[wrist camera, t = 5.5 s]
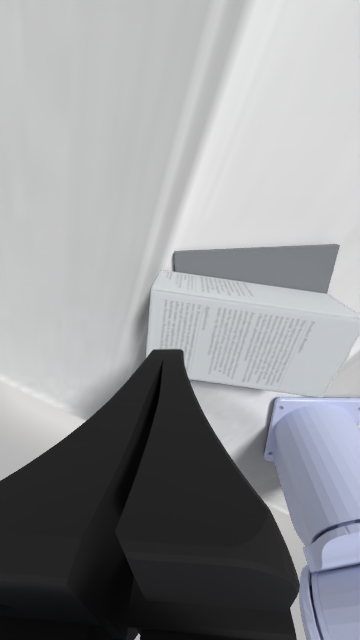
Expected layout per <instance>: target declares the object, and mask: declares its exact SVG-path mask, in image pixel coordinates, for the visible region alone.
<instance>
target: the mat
mask: <svg viewBox="0 0 360 640" xmlns="http://www.w3.org/2000/svg"><path fill="white" fill-rule="evenodd" d="M339 246H340V245H337V244H329V245H306V246H283V247H260V248H237V249H214V250H190V251H174V259H175V272H180V273H187V274H194V275H200V276H207V277H214V278H221V279H228V280H235V281H242V282H249V283H255V284H262V285H269V286H276V287H283V288H290V289H297V290H304V291H311V292H318V293H325V294H327V291H328V287H329V283H330V280H331V276H332V272H333V269H334V265H335V261H336V257H337V254H338V250H339Z"/></svg>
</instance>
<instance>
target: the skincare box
mask: <svg viewBox="0 0 360 640" xmlns="http://www.w3.org/2000/svg"><path fill="white" fill-rule="evenodd" d="M359 334H360V314H359V313H358V312H356V311H355V310H353V309H351V308H350V307H348V306H347V305H345V304H343V303H342V302H340V301H339V300H337V299H335V298H334V297H332V296H331V295H329V294H325V293H318V292H311V291H304V290H297V289H290V288H283V287H276V286H269V285H262V284H255V283H249V282H242V281H235V280H228V279H221V278H214V277H207V276H200V275H194V274H187V273H180V272H173V271H166V270H161V271H160V272H159V274H158V276H157V278H156V280H155V282H154V283H153V285H152V287H151V293H150V307H149V319H148V334H147V347H146V358H147V357H148V355H149V354H150V353H151V351H152V350H153V349H181V350H183V351H184V364H185V368H186V372H187V375H188V378H189V379H191V380H199V381H206V382H212V383H219V384H226V385H233V386H240V387H247V388H254V389H261V390H268V391H275V392H282V393H289V394H296V395H303V396H309V397H316V398H322V397H323V396H324V394H325V393H326V391H327V389H328V388H329V386H330V384H331V382H332V381H333V379H334V377H335V376H336V374H337V373H338V372H339V371H340V370H341V368H342V367H343V365H344V363H345V362H346V360H347V359H348V357H349V354H350V351H351V348H352V346H353V345H354V343H355V341H356V340H357V338H358V336H359Z"/></svg>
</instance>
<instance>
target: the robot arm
mask: <svg viewBox="0 0 360 640" xmlns="http://www.w3.org/2000/svg"><path fill="white" fill-rule="evenodd" d="M279 406H280V407H279ZM359 422H360V398H283V397H281V398H277V399H276V400H275V402H274V407H273V412H272V417H271V422H270V427H269V432H268V437H267V442H266V447H265V452H264V459H265V461H268V462H274V463H275V466H276V470H277V473H278V476H279V480H280V483H281V487H282V490H283V493H284V497H285V500H286V503H287V507H288V510H289V513H290V517H291V520H292V523H293V526H294V528H295V530H296V532H297V534H298V536H299V538H300V539H301V541H302V542H303V543H304V545H305V547H303V550H304V553H305V557H306V560H307V563H308V565H306V566H305V567H304V568H303V569H302V572H301V577H300V584H299V580H298V576H297V573H296V570H295V567H294V564H293V561H292V558H291V556H290V553H289V551H288V548H287V545H286V543H285V541H284V539H283V536H282V534H281V532H280V530H279V528H278V526H277V523H276V522H275V519H274V517H273V515H272V513H271V511H270V509H269V508H268V506H267V505H266V504H265V503H264V501H263V500H262V499H261V498H260V496H259V495H258V494H257V493H256V491H255V490H254V489H253V487H252V486H251V485H250V483H249V482H248V481H247V480H246V478H245V477H244V476H243V474H242V473H241V471H240V470H239V469H238V467H237V466H236V464H235V463H234V462H233V460H232V459H231V457H230V456H229V454H228V453H227V451H226V450H225V448H224V447H223V445H222V443H221V442H220V440H219V439H218V437H217V436H216V434H215V433H214V431H213V429H212V427H211V426H210V424H209V422H208V420H207V418H206V417H205V415H204V413H203V411H202V409H201V407H200V405H199V403H198V401H197V398H196V396H195V394H194V391H193V389H192V386H191V384H190V381H189V378H188V375H187V372H186V368H185V364H184V351H183V350H181V349H153V350H152V351H151V353H150V354H149V355H148V357H147V358H146V359H145V360H144V362H143V363H142V364H141V366H140V367H139V368H138V369H137V370H136V372H135V373H134V374H133V375H132V376H131V378H130V379H129V380H128V381H127V382H126V383H125V384H124V385H123V386H122V388H121V389H120V390H119V391H118V392H117V393H116V394H115V395H114V396H113V397H112V398H111V399H110V400H109V401H108V402H107V403H106V404H105V405H104V406H103V407H102V408H101V409H100V410H98V411H97V412H96V413H95V414H94V415H93V416H92V417H91V418H89V419H88V420H87V421H86V422H85V423H83V424H82V425H81V426H80V427H79V428H77V429H76V430H74V431H73V432H72V433H71V434H70V435H68V436H67V437H66V438H64V439H63V440H62V441H60V442H59V443H58V444H56V445H55V446H53V447H52V448H50V449H49V450H48V451H46V452H45V453H43V454H42V455H40V456H39V457H37V458H36V459H34V460H33V461H31V462H30V463H29V464H27V465H25V466H24V467H22V468H21V469H19V470H18V471H16V472H14V473H13V474H11V475H9V476H8V477H6V478H5V479H3V480H1V481H0V640H134V639H135V638H136V636H137V635H138V633H139V634H140V640H297V639H296V633H295V628H294V624H293V620H292V615H291V611H290V607H291V605H292V604H293V602H294V600H295V599H296V597H297V595H298V592H299V602H300V611H301V617H302V622H303V627H304V631H305V635H306V639H307V640H360V428H359V427H358V424H359Z"/></svg>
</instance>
